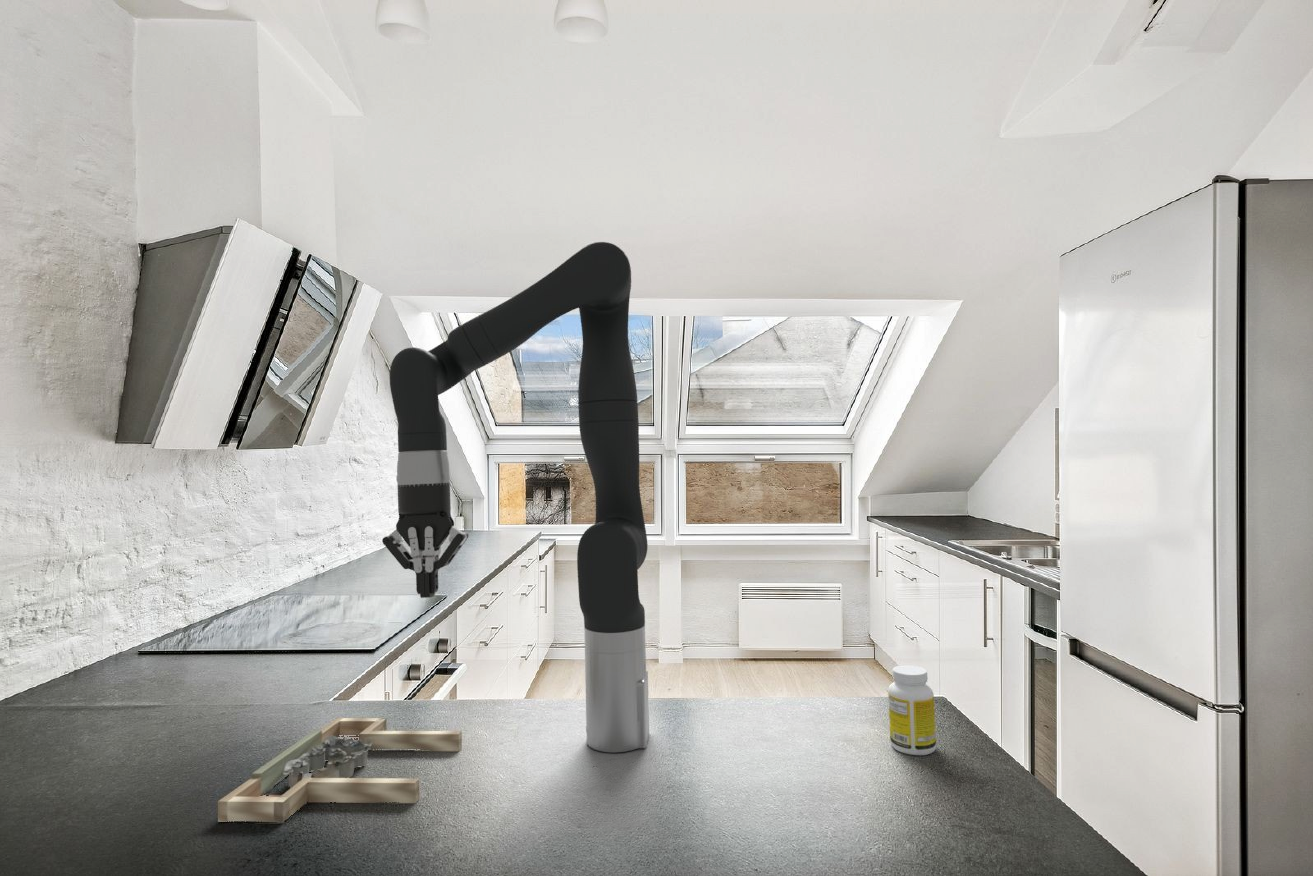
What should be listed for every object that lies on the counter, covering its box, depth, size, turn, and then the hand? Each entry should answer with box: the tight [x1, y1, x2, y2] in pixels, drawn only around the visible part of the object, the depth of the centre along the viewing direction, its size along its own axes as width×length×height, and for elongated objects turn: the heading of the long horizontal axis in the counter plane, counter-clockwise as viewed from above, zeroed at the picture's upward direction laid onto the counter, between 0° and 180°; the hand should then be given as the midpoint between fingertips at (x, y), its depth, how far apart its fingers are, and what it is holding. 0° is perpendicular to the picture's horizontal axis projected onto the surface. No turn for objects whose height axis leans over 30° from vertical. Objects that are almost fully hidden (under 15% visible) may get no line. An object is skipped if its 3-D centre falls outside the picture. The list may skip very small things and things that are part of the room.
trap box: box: [217, 717, 463, 824], centre depth 94 cm, size 22×26×3 cm
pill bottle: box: [887, 665, 937, 756], centre depth 98 cm, size 6×6×11 cm
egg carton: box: [283, 735, 372, 789], centre depth 94 cm, size 11×8×4 cm
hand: (427, 596), depth 102 cm, fingers closed
